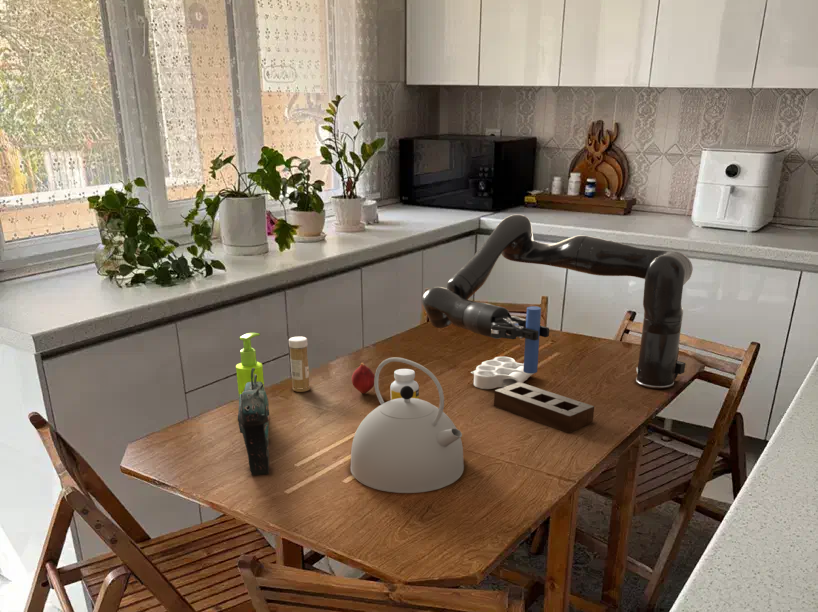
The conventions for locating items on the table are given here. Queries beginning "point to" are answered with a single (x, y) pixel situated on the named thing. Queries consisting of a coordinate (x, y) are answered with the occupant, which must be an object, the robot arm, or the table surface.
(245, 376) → the soap dispenser
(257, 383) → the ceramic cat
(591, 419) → the rack
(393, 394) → the pill bottle
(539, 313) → the peg
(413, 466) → the kettle
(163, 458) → the table surface
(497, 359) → the white multi-cup tray
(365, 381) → the onion
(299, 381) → the sprinkles bottle
